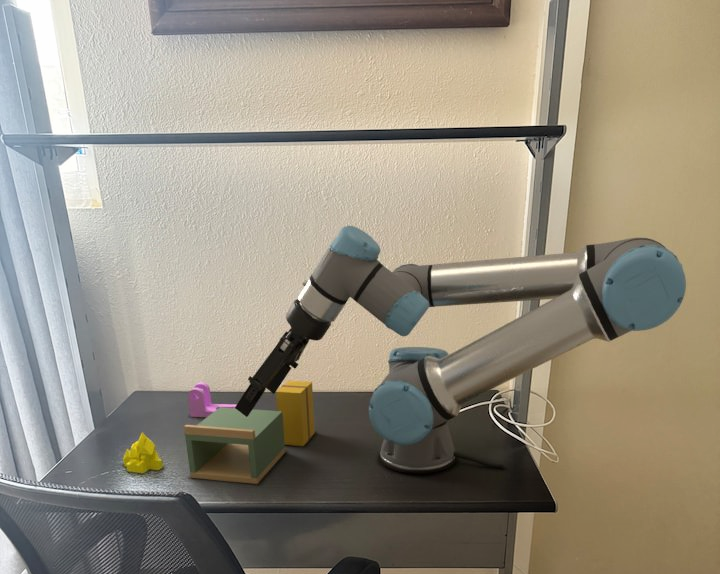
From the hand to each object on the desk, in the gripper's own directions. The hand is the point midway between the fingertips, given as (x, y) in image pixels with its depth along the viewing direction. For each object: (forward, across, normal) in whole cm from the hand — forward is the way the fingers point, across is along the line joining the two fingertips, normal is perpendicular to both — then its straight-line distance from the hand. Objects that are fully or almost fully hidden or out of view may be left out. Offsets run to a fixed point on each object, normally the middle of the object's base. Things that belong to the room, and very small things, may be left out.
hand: (255, 400), depth 132 cm
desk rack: (+16, -3, +4) cm, 17 cm away
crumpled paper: (+27, +2, -11) cm, 30 cm away
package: (+12, -19, +10) cm, 25 cm away
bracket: (+26, -31, -10) cm, 42 cm away
